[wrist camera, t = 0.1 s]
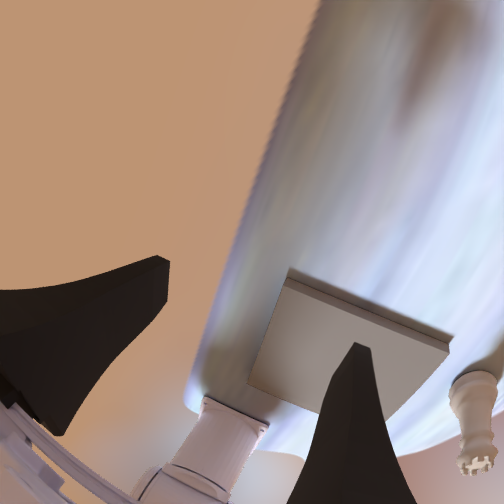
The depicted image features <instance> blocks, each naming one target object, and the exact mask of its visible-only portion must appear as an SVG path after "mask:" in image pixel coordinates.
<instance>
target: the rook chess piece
mask: <svg viewBox="0 0 504 504" xmlns="http://www.w3.org/2000/svg"><path fill="white" fill-rule="evenodd" d="M496 386H497V381H496V377H494V376H493V375H492V374H490V373H489V372H487V371H481V370H478V371H471V372H469V373H466V374H464V375H462V376H461V377H460V378H458V379H457V380H456V381H455V383H454V384H453V386H452V387H451V388H450V390H449V398H450V407H451V409H452V411H453V413H455V415H456V417H457V418H458V419H459V422H460V427H461V434H462V439H461V440H460V443H459V446H460V447H461V448H462V452H461V454H460V455H459V456H458V458H457V460H456V463H457V465H458V466H459V467H460V472H462V473H461V474H462V475H464V476H466V475H467V474H468V471H470V476H475V475H476V474H477V470H478V469H481V472H482V473H484V472H487V471H488V465H489V468H492V467H493V465H494V458H495V457H496V455H497V453H498V450H497V448H496V447H495V446H494V445H492V443H491V442H492V440H493V437H494V433H493V432H492V431H491V415H492V409H493V407H494V404H495V401H496V398H497V394H498V390H497V387H496Z"/></svg>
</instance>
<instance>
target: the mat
mask: <svg viewBox="0 0 504 504" xmlns="http://www.w3.org/2000/svg"><path fill="white" fill-rule="evenodd" d="M354 342H357V343H359V344H362V345H364V346H367V347H369V348H370V349H371V352H372V359H373V366H374V372H375V377H376V383H377V388H378V393H379V398H380V403H381V407H382V412H383V416H384V420H385V421H387V420H388V419H389V418H390V417H391V416H392V415H393V414H394V413H395V412H396V411H397V410H398V409H399V408H400V407H401V406H402V405H403V404H404V403H405V402H406V401H407V400H408V399H409V398H410V397H411V396H412V395H413V394H414V393H415V392H416V391H417V390H418V389H419V388H420V387H421V386H422V385H423V383H424V382H425V381H426V380H427V379H428V378H429V377H430V376H431V375H432V374H433V372H434V371H435V370H436V369H437V368H438V367H439V366H440V364H441V363H442V362H443V361H444V360H445V359H446V357H447V356H448V355H449V354H450V352H449V344H447V343H444V342H442V341H440V340H437V339H435V338H432V337H430V336H427V335H425V334H422V333H420V332H417V331H415V330H413V329H410V328H408V327H405V326H403V325H400V324H398V323H395V322H393V321H391V320H388V319H386V318H383V317H381V316H378V315H376V314H374V313H371V312H369V311H366V310H364V309H361V308H359V307H357V306H354V305H352V304H349V303H347V302H345V301H342V300H340V299H337V298H335V297H333V296H330V295H328V294H325V293H323V292H321V291H318V290H316V289H313V288H311V287H309V286H306V285H304V284H301V283H299V282H297V281H294V280H292V279H290V278H287V279H286V281H285V283H284V285H283V287H282V290H281V293H280V295H279V298H278V301H277V304H276V306H275V309H274V312H273V315H272V317H271V320H270V323H269V326H268V328H267V331H266V334H265V336H264V339H263V342H262V344H261V347H260V350H259V352H258V355H257V358H256V360H255V363H254V366H253V368H252V371H251V373H250V376H249V379H248V381H247V384H248V385H251V386H253V387H255V388H257V389H259V390H262V391H264V392H266V393H268V394H271V395H273V396H275V397H278V398H280V399H282V400H285V401H287V402H290V403H292V404H294V405H297V406H299V407H302V408H304V409H307V410H309V411H312V412H315V413H317V414H320V410H321V406H322V402H323V399H324V396H325V394H326V391H327V388H328V385H329V383H330V380H331V377H332V375H333V374H334V372H335V371H336V369H337V368H338V366H339V365H340V363H341V362H342V360H343V359H344V357H345V356H346V354H347V353H348V351H349V349H350V348H351V346H352V345H353V343H354Z"/></svg>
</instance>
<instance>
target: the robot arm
mask: <svg viewBox="0 0 504 504" xmlns="http://www.w3.org/2000/svg"><path fill="white" fill-rule="evenodd" d="M169 269H170V261H169V260H166V259H164V258H162V257H160V256H158V255H156V256H152V257H149V258H146V259H144V260H141V261H137V262H134V263H132V264H129V265H126V266H123V267H120V268H117V269H114V270H111V271H108V272H105V273H102V274H99V275H96V276H92V277H89V278H85V279H82V280H78V281H74V282H70V283H65V284H60V285H55V286H48V287H40V288H33V289H19V290H0V504H76V503H75V502H73V501H72V500H71V499H69V498H68V497H67V496H66V495H64V494H63V493H62V492H61V491H60V490H59V489H60V487H61V486H62V485H63V483H64V482H65V481H64V479H63V478H62V477H60V476H59V475H58V474H57V473H56V472H55V471H54V470H53V469H51V467H49V465H48V464H46V462H45V461H43V460H42V459H41V458H40V457H39V456H38V455H37V454H36V453H35V452H34V451H33V450H32V443H33V444H34V445H35V446H37V447H38V448H39V449H40V450H41V451H42V452H43V453H44V454H45V455H46V456H47V457H49V458H50V459H51V460H52V461H53V462H54V463H55V464H56V465H58V466H59V467H60V468H61V469H62V470H64V471H65V472H66V473H67V474H68V475H70V476H71V477H72V478H73V479H75V480H76V481H77V482H78V483H80V484H81V485H82V486H84V487H85V488H86V489H88V490H89V491H90V492H92V493H93V494H95V495H96V496H97V497H99V498H100V499H101V500H103V501H104V502H106V503H107V504H234V503H233V502H231V501H228V500H229V498H230V496H231V494H230V492H231V490H232V488H233V486H234V484H235V483H236V481H237V479H238V477H239V475H240V473H241V471H242V469H243V467H244V465H245V463H246V461H247V459H248V457H249V455H251V454H252V453H253V451H254V450H255V448H256V447H257V445H258V444H259V442H260V441H261V439H262V438H263V436H264V435H265V433H266V432H267V430H268V428H269V427H268V426H267V425H266V424H264V423H261V422H259V421H257V420H254V419H252V418H250V417H248V416H246V415H243V414H241V413H239V412H237V411H235V410H233V409H230V408H228V407H226V406H224V405H222V404H220V403H218V402H216V401H214V400H212V399H210V398H208V397H203V399H202V403H201V408H200V413H199V418H198V421H197V423H196V425H195V426H194V428H193V429H192V431H191V432H190V434H189V435H188V437H187V438H186V440H185V441H184V443H183V444H182V446H181V447H180V449H179V450H178V452H177V453H176V455H175V456H174V458H173V459H172V461H171V462H170V463H168V462H167V463H166V464H165V466H164V467H161V466H159V465H157V466H155V467H151V468H149V469H148V470H147V471H146V472H145V473H144V474H143V475H142V477H141V478H140V479H139V481H138V482H137V484H136V485H135V487H134V488H133V490H132V492H131V494H130V496H129V495H128V494H126V493H125V492H123V491H122V490H120V489H118V488H117V487H115V486H114V485H112V484H111V483H109V482H108V481H107V480H105V479H104V478H102V477H101V476H100V475H98V474H97V473H95V472H94V471H92V470H91V469H90V468H89V467H87V466H86V465H85V464H83V463H82V462H81V461H80V460H78V459H77V458H76V457H75V456H73V455H72V454H71V453H69V452H68V451H67V450H66V449H65V448H64V447H62V446H61V445H60V444H59V443H58V442H57V441H55V440H54V439H53V438H52V437H51V436H50V435H49V434H47V433H46V432H45V431H44V430H43V429H42V428H41V427H40V426H39V425H38V424H37V423H36V422H35V421H34V420H33V418H34V419H35V420H36V421H37V422H38V423H39V424H42V425H43V426H44V427H45V428H46V429H47V430H49V431H50V432H51V433H52V434H53V435H54V436H63V435H64V433H65V432H66V430H67V428H68V426H69V424H70V422H71V421H72V419H73V417H74V415H75V414H76V412H77V411H78V409H79V407H80V406H81V404H82V403H83V401H84V400H85V398H86V397H87V395H88V394H89V392H90V391H91V389H92V388H93V387H94V385H95V384H96V382H97V381H98V380H99V378H100V377H101V375H102V374H103V373H104V371H105V370H106V369H107V368H108V367H109V365H110V364H111V363H112V362H113V361H114V359H115V358H116V357H117V356H118V355H119V354H120V353H121V352H122V351H123V350H124V349H125V348H126V347H127V346H128V345H129V344H130V343H131V342H132V341H133V340H134V339H135V338H136V337H137V336H138V335H139V334H140V333H141V332H142V331H143V330H144V329H145V328H146V327H147V326H148V325H149V324H150V322H152V321H153V320H154V318H155V317H156V316H157V314H158V313H159V312H160V311H161V309H162V308H163V306H164V305H165V304H166V302H167V297H168V282H169ZM31 442H32V443H31ZM287 504H417V503H416V501H415V499H414V497H413V495H412V493H411V491H410V489H409V487H408V485H407V482H406V480H405V478H404V476H403V473H402V471H401V468H400V466H399V464H398V461H397V458H396V456H395V453H394V450H393V447H392V444H391V441H390V438H389V434H388V431H387V427H386V424H385V420H384V416H383V412H382V407H381V403H380V398H379V393H378V388H377V383H376V377H375V372H374V366H373V359H372V352H371V349H370V348H369V347H367V346H364V345H362V344H359V343H357V342H354V343H353V345H352V346H351V348H350V349H349V351H348V353H347V354H346V356H345V357H344V359H343V360H342V362H341V363H340V365H339V366H338V368H337V369H336V371H335V372H334V374H333V375H332V377H331V380H330V383H329V385H328V388H327V391H326V394H325V396H324V399H323V402H322V406H321V410H320V414H319V418H318V421H317V425H316V429H315V433H314V436H313V440H312V443H311V447H310V450H309V453H308V456H307V459H306V462H305V464H304V467H303V469H302V471H301V474H300V476H299V478H298V481H297V483H296V485H295V487H294V489H293V491H292V493H291V495H290V497H289V499H288V501H287Z"/></svg>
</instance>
